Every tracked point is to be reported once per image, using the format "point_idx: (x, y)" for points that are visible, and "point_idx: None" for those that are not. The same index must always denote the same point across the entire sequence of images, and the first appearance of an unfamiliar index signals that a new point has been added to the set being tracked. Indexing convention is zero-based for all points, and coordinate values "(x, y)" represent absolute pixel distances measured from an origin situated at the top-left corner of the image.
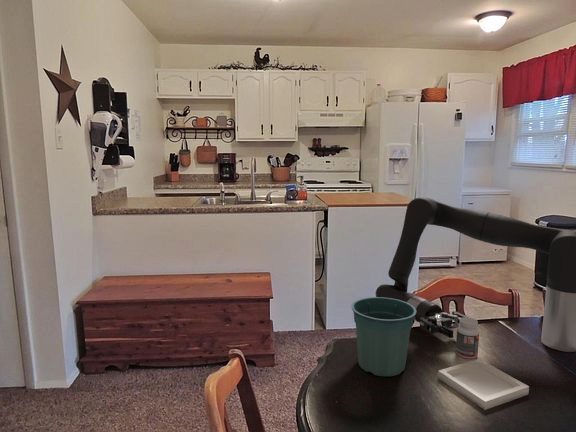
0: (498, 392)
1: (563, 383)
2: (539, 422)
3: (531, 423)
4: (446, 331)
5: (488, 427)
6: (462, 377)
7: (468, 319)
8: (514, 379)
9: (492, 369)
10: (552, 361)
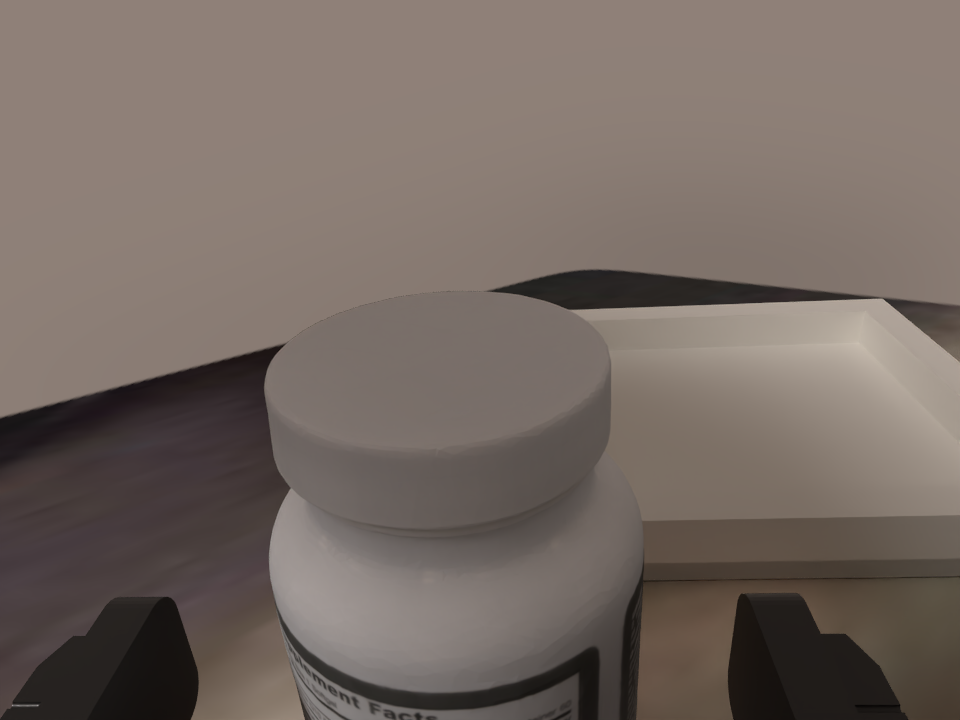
0: (711, 364)
1: None
2: (673, 286)
3: (710, 288)
4: (879, 670)
5: (919, 301)
6: (868, 486)
7: (395, 371)
8: None
9: None
10: (6, 464)
